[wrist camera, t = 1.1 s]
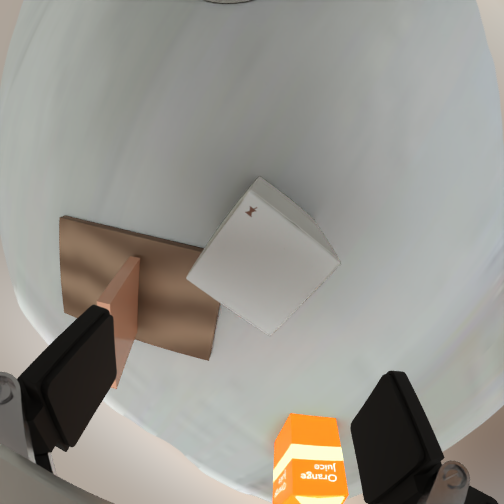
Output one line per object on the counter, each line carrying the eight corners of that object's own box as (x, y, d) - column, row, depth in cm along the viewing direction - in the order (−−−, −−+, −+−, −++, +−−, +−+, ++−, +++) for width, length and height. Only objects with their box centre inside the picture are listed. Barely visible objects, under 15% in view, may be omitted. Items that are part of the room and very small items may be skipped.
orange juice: (273, 442, 41) (269, 544, 22) (290, 412, 38) (291, 531, 19) (316, 446, 41) (323, 543, 22) (337, 417, 38) (354, 528, 19)
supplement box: (215, 230, 30) (180, 277, 18) (260, 174, 28) (250, 184, 16) (270, 272, 31) (269, 340, 19) (316, 220, 29) (345, 262, 17)
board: (65, 215, 31) (59, 217, 30) (229, 254, 31) (228, 258, 30) (68, 308, 35) (64, 312, 34) (210, 354, 35) (208, 360, 34)
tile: (140, 258, 30) (129, 255, 29) (110, 304, 20) (96, 301, 20) (137, 332, 33) (127, 330, 33) (116, 388, 23) (105, 386, 23)
